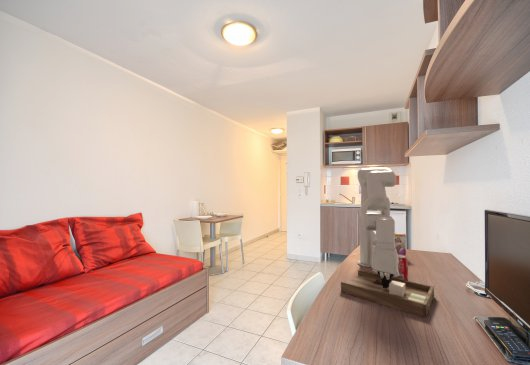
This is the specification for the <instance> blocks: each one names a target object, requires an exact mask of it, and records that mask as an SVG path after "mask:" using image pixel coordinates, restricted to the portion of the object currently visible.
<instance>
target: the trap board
mask: <svg viewBox="0 0 530 365" xmlns="http://www.w3.org/2000/svg"><path fill="white" fill-rule="evenodd" d="M392 281H397V282H401V283H405V290H406V293H405V294H404V296H403V297H401V296H398V295H394V294H390V293H389V287H388V288H387V289H386V288H383V285H382V278H381V277H380V275H379V274H378V273H376V272H370V271H366V270H361V269H358V270H357V275H356V276H355V277H353V278H352V279H351V280H349V281H348V282H346V281H341V282H340V292H341V293H343V294H346V295H350V296H353V297H357V298H360V299H363V300H366V301H371V302H374V303H376V304H381V305H383V306H387V307H389V308H393V309H397V310H401V311H404V312H407V313H410V314H413V315H416V314H417V316H420V317H423V318H427V317H428V313H429V311H430V308H431V306H432V303H433V300H434V298H435V286H433V285H428V284H423V283H420V282H416V281H415V282H414V281H411V280H408V281H407V280H402V279H398V278H393V277H392V278H390V283H391V282H392Z"/></svg>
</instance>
